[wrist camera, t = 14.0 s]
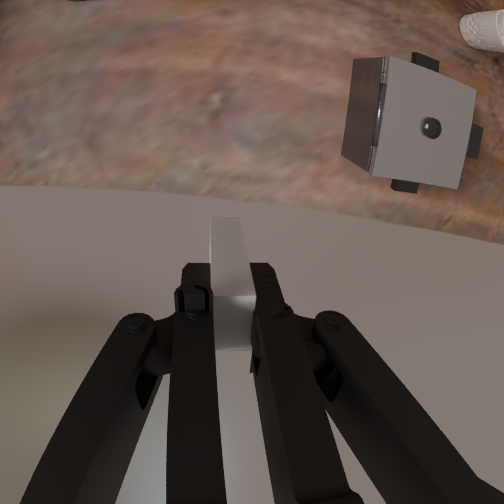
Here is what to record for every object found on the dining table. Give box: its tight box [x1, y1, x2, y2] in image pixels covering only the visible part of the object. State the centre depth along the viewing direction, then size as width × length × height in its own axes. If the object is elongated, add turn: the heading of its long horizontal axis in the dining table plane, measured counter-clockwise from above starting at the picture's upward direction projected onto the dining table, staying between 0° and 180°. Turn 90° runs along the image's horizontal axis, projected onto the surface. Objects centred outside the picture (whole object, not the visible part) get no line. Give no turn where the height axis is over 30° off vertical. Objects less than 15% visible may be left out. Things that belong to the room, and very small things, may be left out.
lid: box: [369, 56, 483, 189], centre depth 34 cm, size 15×19×2 cm
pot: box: [341, 52, 439, 194], centre depth 38 cm, size 20×15×9 cm
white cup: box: [460, 10, 504, 53], centre depth 30 cm, size 8×8×10 cm
